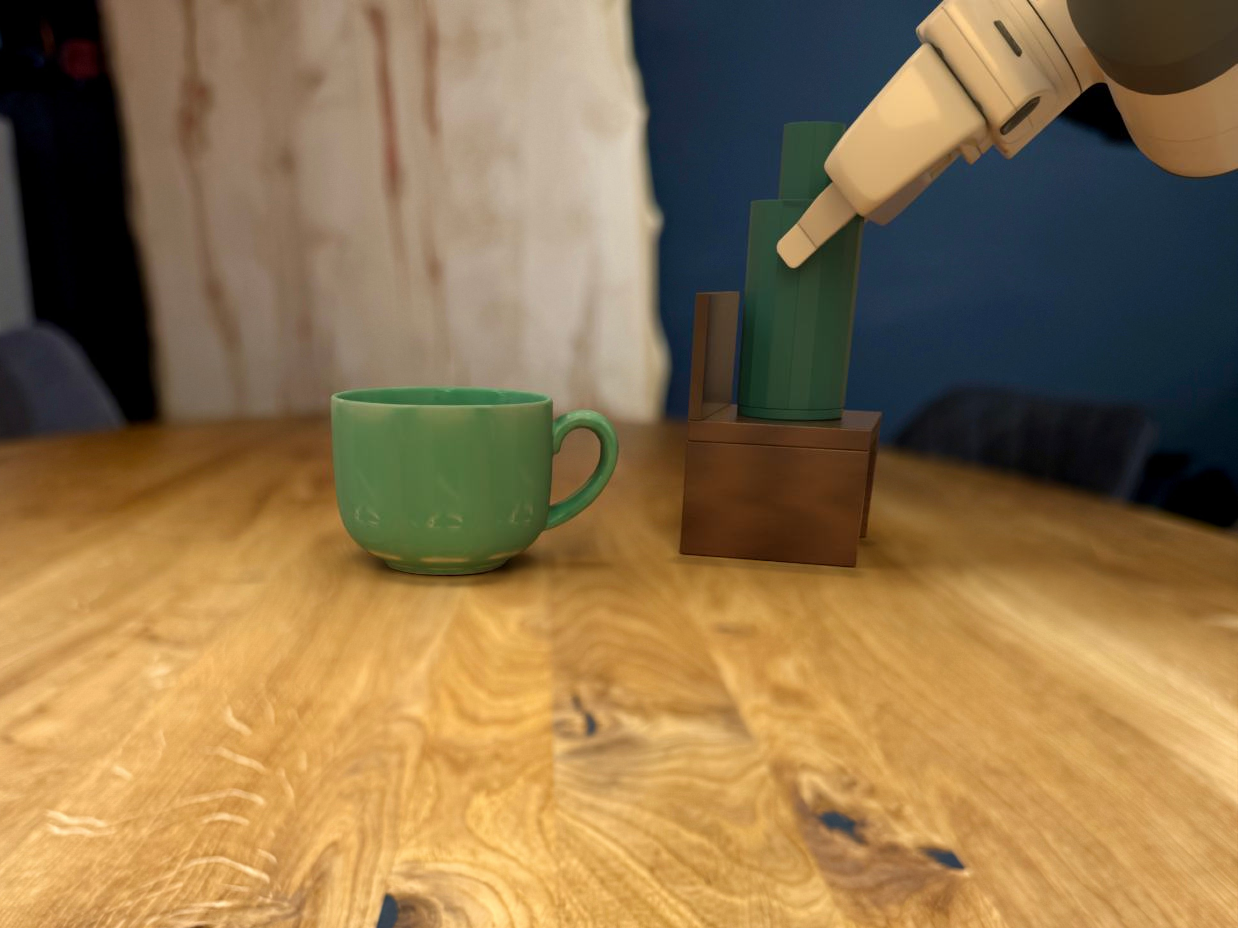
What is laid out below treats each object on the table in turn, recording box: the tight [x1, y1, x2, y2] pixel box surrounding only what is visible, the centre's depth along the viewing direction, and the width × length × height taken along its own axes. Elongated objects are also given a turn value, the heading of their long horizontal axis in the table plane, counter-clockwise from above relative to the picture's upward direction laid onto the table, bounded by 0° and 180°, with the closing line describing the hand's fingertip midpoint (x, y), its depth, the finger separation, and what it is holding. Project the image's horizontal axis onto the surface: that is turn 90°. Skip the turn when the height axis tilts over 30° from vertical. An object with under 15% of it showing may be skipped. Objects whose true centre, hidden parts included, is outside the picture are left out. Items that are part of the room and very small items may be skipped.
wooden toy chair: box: [679, 290, 883, 568], centre depth 84 cm, size 11×12×15 cm
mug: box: [330, 386, 620, 576], centre depth 76 cm, size 17×13×10 cm
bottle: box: [736, 121, 865, 420], centre depth 80 cm, size 7×7×16 cm
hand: (792, 259), depth 80 cm, fingers closed on bottle, 7 cm apart
